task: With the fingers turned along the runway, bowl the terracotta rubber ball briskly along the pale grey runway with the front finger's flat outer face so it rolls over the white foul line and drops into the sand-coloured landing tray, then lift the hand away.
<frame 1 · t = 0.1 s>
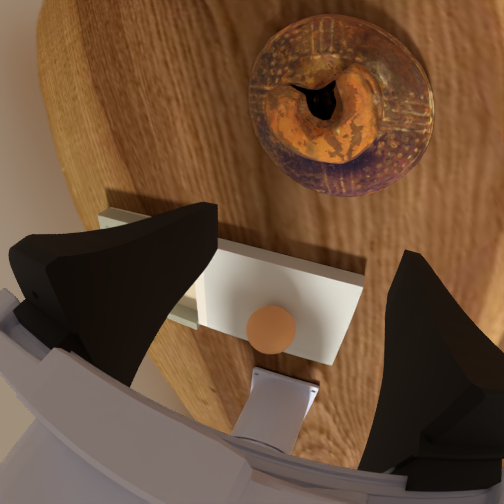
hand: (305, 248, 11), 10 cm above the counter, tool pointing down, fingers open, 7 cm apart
runway: (272, 299, 26), on the counter
ball: (270, 329, 23), point 3 cm above the counter, touching runway
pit: (157, 263, 30), on the counter
bell: (342, 103, 16), on the counter
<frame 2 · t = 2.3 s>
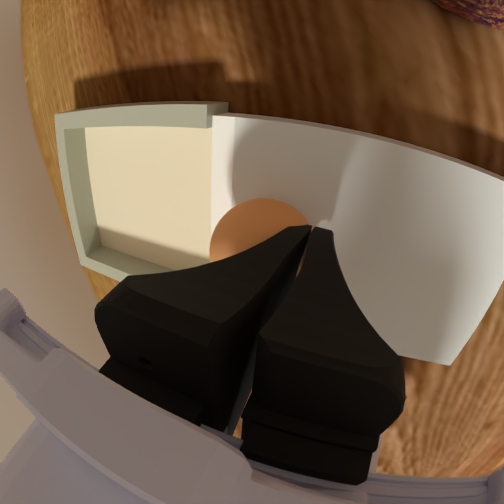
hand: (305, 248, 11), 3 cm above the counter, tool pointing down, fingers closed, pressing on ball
runway: (364, 243, 13), on the counter
ball: (263, 252, 11), point 3 cm above the counter, tilted 140°, touching gripper, runway
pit: (141, 195, 16), on the counter
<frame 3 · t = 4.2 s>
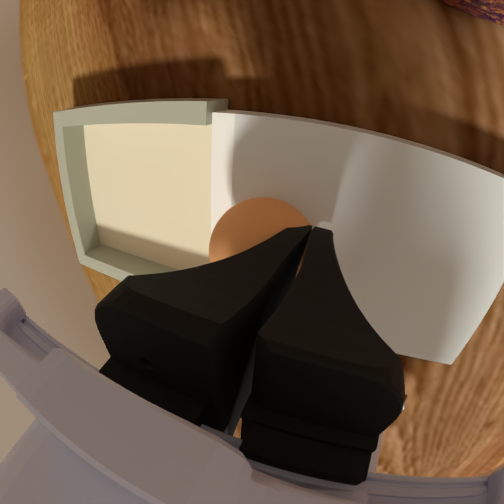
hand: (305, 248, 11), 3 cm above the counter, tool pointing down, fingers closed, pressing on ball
runway: (365, 241, 13), on the counter
ball: (263, 251, 11), point 3 cm above the counter, tilted 140°, touching gripper, runway
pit: (141, 192, 16), on the counter
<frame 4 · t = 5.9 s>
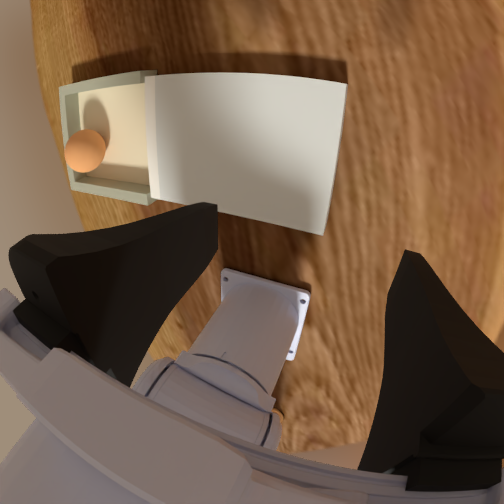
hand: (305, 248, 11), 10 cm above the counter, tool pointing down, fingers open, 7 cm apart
runway: (237, 141, 20), on the counter
ball: (85, 150, 22), point 2 cm above the counter, tilted 78°, touching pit
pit: (112, 133, 23), on the counter
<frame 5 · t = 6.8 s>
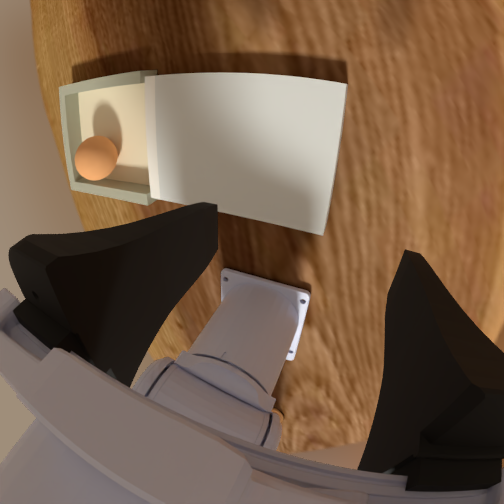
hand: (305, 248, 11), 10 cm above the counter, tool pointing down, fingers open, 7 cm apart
runway: (237, 141, 20), on the counter
ball: (96, 158, 22), point 2 cm above the counter, tilted 30°, touching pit
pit: (112, 133, 23), on the counter
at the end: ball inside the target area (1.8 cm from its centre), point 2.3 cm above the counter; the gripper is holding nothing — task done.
